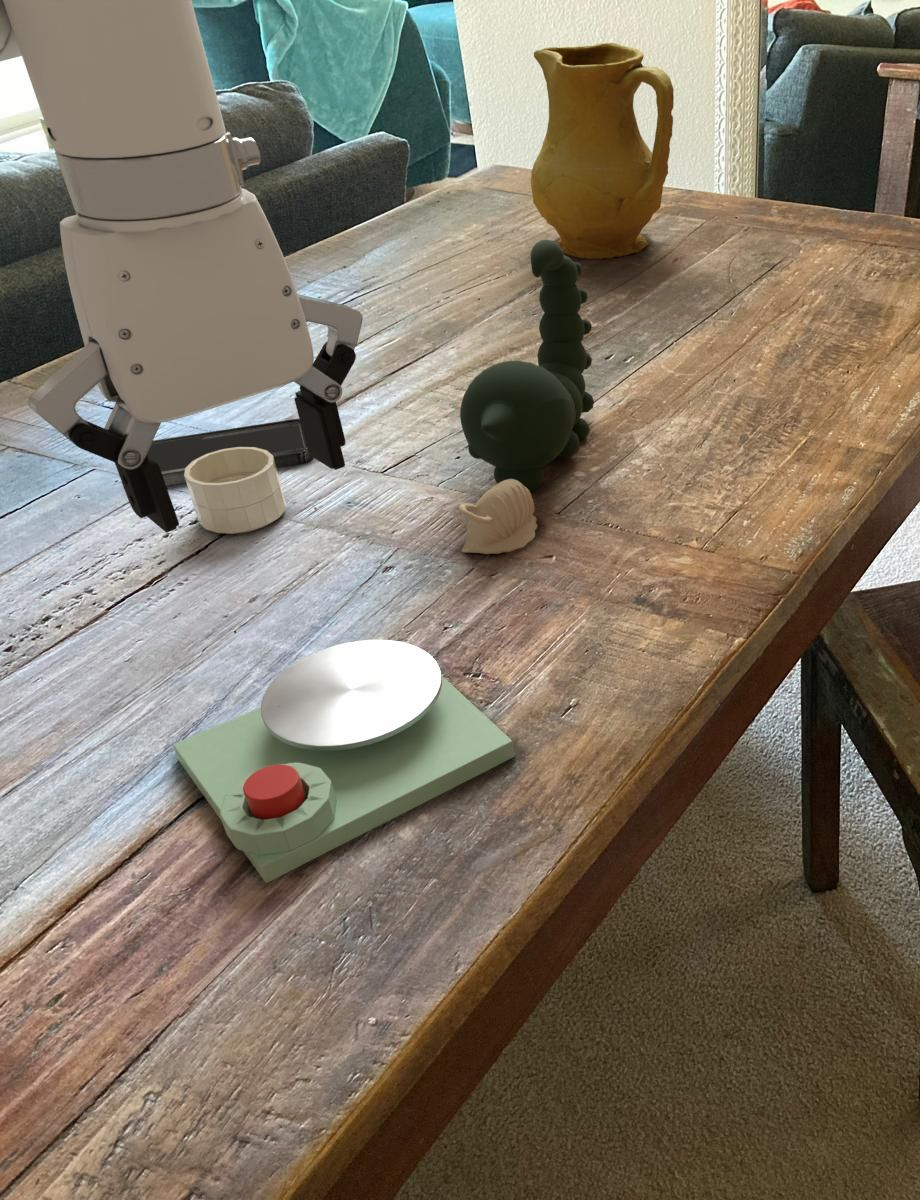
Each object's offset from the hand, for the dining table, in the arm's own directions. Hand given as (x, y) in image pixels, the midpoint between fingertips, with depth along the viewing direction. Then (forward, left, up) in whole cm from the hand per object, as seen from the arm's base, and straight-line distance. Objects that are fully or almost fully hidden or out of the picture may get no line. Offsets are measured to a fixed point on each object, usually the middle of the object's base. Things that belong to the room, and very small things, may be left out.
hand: (248, 490), depth 68 cm
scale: (0, -3, -18) cm, 18 cm away
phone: (+10, +44, -18) cm, 48 cm away
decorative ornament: (+21, +14, -18) cm, 31 cm away
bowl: (+7, +32, -18) cm, 37 cm away
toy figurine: (+32, +25, -18) cm, 45 cm away
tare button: (-5, -7, -15) cm, 18 cm away
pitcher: (+72, +73, -18) cm, 104 cm away
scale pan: (+2, -1, -15) cm, 15 cm away
